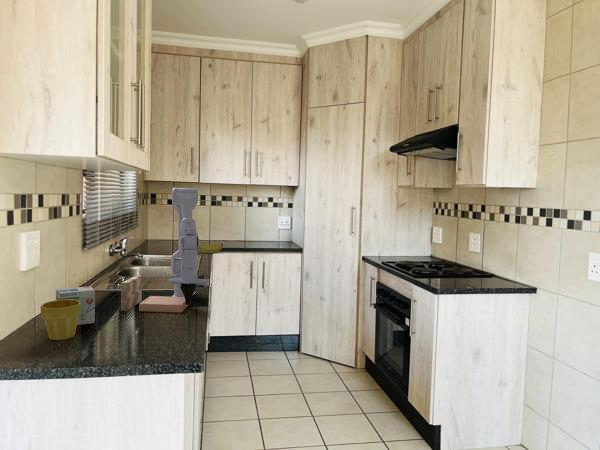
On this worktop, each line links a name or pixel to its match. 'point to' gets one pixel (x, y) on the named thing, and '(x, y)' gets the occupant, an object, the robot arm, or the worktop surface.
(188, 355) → the worktop surface
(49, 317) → the plant pot
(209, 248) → the banana
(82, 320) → the light bulb box
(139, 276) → the bookend
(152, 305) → the book
